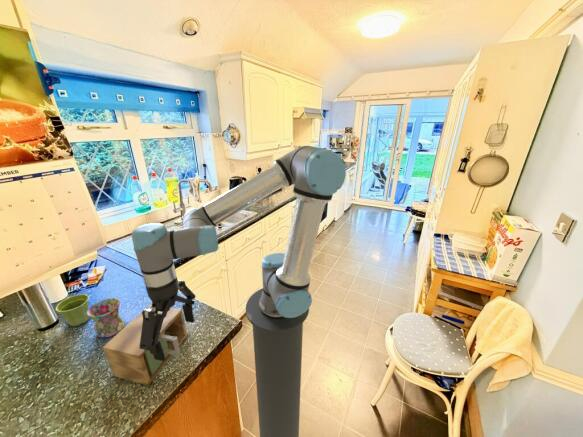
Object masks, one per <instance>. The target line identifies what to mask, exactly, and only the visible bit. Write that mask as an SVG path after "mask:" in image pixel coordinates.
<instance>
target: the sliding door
mask: <svg viewBox="0 0 583 437" xmlns="http://www.w3.org/2000/svg"><path fill="white" fill-rule="evenodd" d="M158 341H160V343H161V346H162V350H163V353H164V356H165V359H166V357H167V356H168V355H169V354H170V355H172V356H175V357H176V358H180V356H181V355H182V353H181V348H180V345H179V343H178V339H177V337H173V336H168V335H165V332H163V334H162V335H161V336H160V337H159V338H158ZM167 341H172V342H173V345H174V350H171V349H169V348H168V344H167ZM144 355H145V358H146V362H147V365H148V368H149V371H150V374H151V375H153V374H154V373H155V371H156V370H157V369H158V367H159V366H160V365H161V364H162V362H163V361H160V360H156V359H155V358H154V355H153V354H151V353H150V351H148V350H147V351H146V353H145V354H144Z"/></svg>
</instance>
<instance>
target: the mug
mask: <svg viewBox="0 0 583 437" xmlns="http://www.w3.org/2000/svg"><path fill="white" fill-rule="evenodd" d="M120 304H121V302H120V299H118V298H115V297H110V298H105V299H102V300H100V301H97V302H96V303H94V304H92V305H91V306H89V309H88V311H87V316H88V317H90V318H89V319H91V320H92V321H93V322H94V325H93V328H94V331H95V332H96V336H97V337H98V338H101V339H106V338H110V337H112V336H116V335H117V334H118V333H119V332H120V331H121V330H122V329H123V328H125V325H126V321H125V320H124V319H123V318H122V317H121V316H120V312H119V309H120Z"/></svg>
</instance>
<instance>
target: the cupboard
mask: <svg viewBox="0 0 583 437" xmlns="http://www.w3.org/2000/svg"><path fill="white" fill-rule="evenodd" d="M151 307H152V303H150V304H149V305H147V307H146V308H144V310H148V309H149V308H151ZM142 312H143V310H142V311H141V312H140V313H139V314H138V315H137V316H136V317H135V318H133V319H132V320H131V321H130V322H129V323H127V325H126V326H124V327H123V328H122V330H120V331H119V332H118V333H116V334H115V335H114V336H113V337H112V338H111V339H110V340H109V341H108V342H107V343H105V345H103V346H102V350H103V352H104V356H105V357H106V361H107V362H108V365H109V368H110V371H111V373H112V375H113V377H115V378H119V379H122V380H127V381H130V382H134V383H138V384H142V385H145V386H149V385H150V384H151V383H152V382H153V381H154V379H155V378H156V377H157V375H158V374H159V373H160V372H161V370H162V369H163V367H165V365H166V364H167V362H168V361H169V360H170V359H171V357H172V356H173V355H170V354H169V355H168V356H167V357H166V359H165V360H164V361H163V362H162V364H161V365H160V366H159V367H158V369H157V370H156V371H155V373H154V374H153V375H151V374H150V371H149V368H148V365H147V362H146V358H145V355H144V354H145V353H146V351H147V350H144V349H140V348H139V347H140V339H141V332H142V324H143V316H142ZM158 313H159V314H162V313H163V312H160V311H158ZM163 332H165V335H168V336H173V337H177V339H178V343H179V346H181V344H182V343H183V341H185V339H186V337H187V336H188V333H187V328H186V323H185V317H184V312H183V308H176V307H173V306H172V307H171V308H170V310H169V311H168V312H167V315H166V317H165V318H164V320H163V323H162V327H161V331H160V334H159V337H160V336H161V335H162V334H163ZM167 344H168V348H169V349H171V350H174V345H173V342H172V341H167Z"/></svg>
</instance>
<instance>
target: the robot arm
mask: <svg viewBox="0 0 583 437" xmlns="http://www.w3.org/2000/svg"><path fill="white" fill-rule="evenodd" d="M346 175H347V171H346V164H345V162H344V161H343V158H342V157H341V156H340V155H339V154H338V153H336V152H335V151H332V150H330V149H328V148H321V147H315V146H310V145H303V146H299V147H296V148H295V149H292V150H291V151H289V152H287V153H285V154H284V155H282V156H281V157H279V158H277V159H275V160H273V162H272V165H271V166H270V167H268V168H266V169H264V170H263V171H261V172H259V173H257V174H256V175H254V176H252V177H250V178H249V179H247V180H245V181H243V182H242V183H240V184H238V185H237V186H235V187H233V188H231V189H230V190H228V191H226V192H224V193H223V194H221V195H219V196H217V197H216V198H214V199H212V200H211V201H209V202H207V203H205V204H204V205H202V206H200V207H194V208H190V209H188V210H187V211H186V212H185V214H184V215H183V216H182V220H181V224H182V225H181V228H180V229H173V230H168V229H167V227H166V226H165V224H164V223H160V222H157V223H156V222H151V223H146V224H142V225H140V226H138V227H136V228H134V229H133V231H132V232H131V235H130V236H131V240H132V245H133V251H134V253H135V256H136V259H137V262H138V264H139V268H140V273H141V277H142V279H143V282H144V285H145V290H146V294H147V296H148V298H149V300H150V301H151V304H152V307H151V308H149V309H148V310H145V309H143V310H142V311H143V312H142V311H141V312H142V316H143V324H142V332H141V339H140V347H139V348H140V349H144V350H148V351H150V353H151V354H153V355H154V358H155V359H156V360H160V361H164V360H165V356H164V353H163V350H162V346H161V343H160V341H158V338H159V334H160V331H161V327H162V323H163V320H164V318H165V317H166V315H167V312H168V311H169V310H170V308H171V307H172V308H173V307H174V306H175V304H176V302H178V303H182V305H181V306H182V313H183V317H184V321H185V322H188V323H194V322H195V317H194V313H193V311H194V309H193V305H195V303H196V301H195V300H194V299H196V294H195V293H194V292H193V291H192V290H191V289H190V288H189V287H188V285H187V284H186V281H185V280H181V279H178V277H177V272H176V267H175V262H174V260H179V259H184V258H190V257H198V256H206V255H208V254H211V253H216V252H217V251H218V250H219V242H218V233H217V228H216V227H217V226H219V225H220V224H222V223H224V222H225V221H227V220H229V219H230V218H232V217H234V216H235V215H237V214H240V212H242V211H244V210H246V209H247V208H249V207H250V206H252V205H254V204H257V203H258V202H259V201H261V200H262V199H264V198H266V197H268V196H269V195H271V194H273V193H275V192H276V191H278V190H280V189H281V188H283V187H284V188H289V187H291V186H293V185H294V186H293V190H292V192H293V194H294V196H295V197H296V201H295V205H294V210H293V215H292V219H291V222H290V229H289V232H288V238H287V243H286V249H285V252H284V253H283V252H274V253H269V254H267V255H266V256H264V257H263V258H262V259H261V275H262V278H261V279H262V288H263V292H262V295H261V298H260V301H259V308H260V311H261V313H262V314H263V315H265V316H266V317H269V318H272V319H281V318H285V317H286V318H294V317H297V316H300V315H302V314H303V313H305V312H306V311H307V310H308V309H309V310H310V307H311V306H312V303H313V297H312V294H311V292H309V288H310V284H311V279H312V276H311V275H310V273H309V269H310V265H311V262H312V257H313V253H314V250H315V245H316V241H317V237H318V233H319V229H320V226H321V221H322V218H323V213H324V209H325V206H326V204H328V203H329V202H331V201H332V199H333V195H334V194H336V193H337V192H338V190H340V189H342V187H343V185H344V183H345V180H346ZM179 292H180V293H181V294H183V295H184V296H185V297H182V296H180V295H178V294H179ZM158 311H160V312H163V313H162V314H159V313H158Z"/></svg>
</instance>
